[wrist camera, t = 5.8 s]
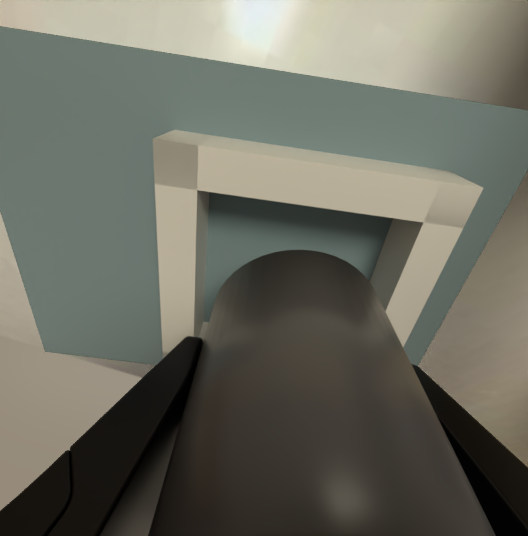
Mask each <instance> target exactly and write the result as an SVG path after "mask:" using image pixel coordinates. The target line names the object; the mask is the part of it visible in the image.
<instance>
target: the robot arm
mask: <svg viewBox="0 0 528 536" xmlns="http://www.w3.org/2000/svg"><path fill="white" fill-rule="evenodd" d="M202 345H203V339H202V338H201V337H194V336H187V337H185V338H184V339H183V340H182V341H181V342H180V343H179V344H178V345H177V346H176V347H174V348H173V349H172V350H171V351H170V352H169V353H168V354H167V355H166V356H165V357H164V358H163V359H162V360H161V361H160V362H159V363H158V364H157V365H156V366H155V367H154V368H153V369H151V370H150V371H149V372H148V373H147V374H146V375H145V376H144V377H143V378H142V379H141V380H140V381H139V382H138V383H137V384H136V385H135V386H134V387H133V388H132V389H131V390H130V391H129V392H128V393H126V394H125V395H124V396H123V397H122V398H121V399H120V400H119V401H118V402H117V403H116V404H115V405H114V406H113V407H112V408H111V409H110V410H109V411H108V412H106V414H104V415H103V416H102V417H101V418H100V419H99V420H98V421H97V422H96V423H95V424H94V425H93V426H92V427H91V428H90V429H89V430H88V431H87V432H86V433H85V434H83V436H81V437H80V438H79V439H78V440H77V441H76V442H75V443H74V444H73V445H72V446H71V447H70V451H69V450H67V451H65V453H64V454H62V455H61V456H60V457H59V458H58V459H57V460H56V461H55V462H54V463H53V464H52V465H51V466H50V467H49V468H48V469H47V470H46V471H45V472H43V473H42V474H41V475H40V476H39V477H38V478H37V479H36V480H35V481H34V482H33V483H31V484H30V485H29V486H28V487H27V488H26V489H25V490H24V491H23V492H22V493H20V494H19V495H18V496H17V497H16V498H15V499H14V500H12V501H11V502H10V503H9V504H8V505H7V506H5V507H4V508H3V509H2V510H1V511H0V536H148V534H149V531H150V527H151V524H152V520H153V517H154V513H155V510H156V506H157V503H158V499H159V496H160V492H161V489H162V485H163V482H164V478H165V475H166V471H167V468H168V464H169V461H170V457H171V453H172V450H173V446H174V443H175V439H176V436H177V432H178V429H179V425H180V422H181V418H182V415H183V411H184V408H185V404H186V401H187V397H188V394H189V390H190V387H191V383H192V380H193V376H194V373H195V369H196V366H197V362H198V359H199V355H200V352H201V348H202ZM411 365H412V367H413V369H414V371H415V373H416V375H417V377H418V379H419V381H420V383H421V385H422V387H423V389H424V391H425V393H426V395H427V397H428V399H429V401H430V403H431V405H432V407H433V409H434V411H435V413H436V415H437V417H438V419H439V421H440V424H441V426H442V428H443V430H444V432H445V434H446V436H447V438H448V440H449V442H450V444H451V446H452V448H453V450H454V452H455V454H456V456H457V458H458V460H459V462H460V464H461V466H462V468H463V470H464V472H465V474H466V476H467V478H468V480H469V482H470V484H471V486H472V488H473V491H474V493H475V495H476V497H477V499H478V501H479V503H480V505H481V507H482V509H483V511H484V513H485V515H486V517H487V519H488V521H489V523H490V525H491V527H492V529H493V531H494V533H495V535H496V536H528V467H527V466H525V465H524V464H523V463H522V462H521V461H520V460H519V459H518V458H517V457H516V456H515V455H514V454H512V453H511V452H510V451H509V450H508V449H507V448H506V447H505V446H504V445H503V444H502V443H501V442H499V441H498V440H497V439H496V438H495V437H494V436H493V435H492V434H491V433H490V432H489V431H487V430H486V429H485V428H484V427H483V426H482V425H481V424H480V423H479V422H478V421H477V420H476V419H474V418H473V417H472V416H471V415H470V414H469V413H468V412H467V411H466V410H465V409H464V408H463V407H461V406H460V405H459V404H458V403H457V402H456V401H455V400H454V399H453V398H452V397H451V396H449V395H448V394H447V393H446V392H445V391H444V390H443V389H442V388H441V387H440V386H439V385H438V384H436V383H435V382H434V381H433V380H432V379H431V378H430V377H429V376H428V375H427V374H426V373H425V372H423V371H422V370H421V369H420V368H419V367H418V366H416V365H414V364H411Z"/></svg>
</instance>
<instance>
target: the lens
mask: <svg viewBox="0 0 528 536" xmlns="http://www.w3.org/2000/svg"><path fill="white" fill-rule="evenodd" d="M148 536H496V535H495V533H494V531H493V529H492V527H491V525H490V523H489V521H488V519H487V517H486V515H485V513H484V511H483V509H482V507H481V505H480V503H479V501H478V499H477V497H476V495H475V493H474V491H473V488H472V486H471V484H470V482H469V480H468V478H467V476H466V474H465V472H464V470H463V468H462V466H461V464H460V462H459V460H458V458H457V456H456V454H455V452H454V450H453V448H452V446H451V444H450V442H449V440H448V438H447V436H446V434H445V432H444V430H443V428H442V426H441V424H440V421H439V419H438V417H437V415H436V413H435V411H434V409H433V407H432V405H431V403H430V401H429V399H428V397H427V395H426V393H425V391H424V389H423V387H422V385H421V383H420V381H419V379H418V377H417V375H416V373H415V371H414V369H413V367H412V365H411V363H410V361H409V359H408V356H407V354H406V352H405V350H404V348H403V346H402V344H401V342H400V340H399V338H398V336H397V334H396V332H395V330H394V328H393V326H392V324H391V322H390V320H389V318H388V316H387V314H386V312H385V310H384V308H383V306H382V304H381V302H380V300H379V298H378V296H377V294H376V291H375V290H374V288H373V286H372V285H371V283H370V281H369V280H368V279H367V278H366V277H365V276H364V274H363V273H361V272H360V271H359V270H358V269H357V268H356V267H354V266H353V265H351V264H350V263H348V262H346V261H344V260H342V259H340V258H338V257H336V256H333V255H330V254H327V253H323V252H318V251H313V250H285V251H279V252H274V253H270V254H267V255H263V256H261V257H259V258H256V259H254V260H252V261H250V262H248V263H246V264H245V265H243V266H242V267H240V268H239V269H238V270H236V271H235V272H234V273H233V274H232V275H231V276H230V277H229V278H228V279H227V280H226V281H225V283H224V284H223V286H222V287H221V288H220V290H219V292H218V294H217V296H216V299H215V303H214V306H213V309H212V313H211V316H210V320H209V323H208V327H207V330H206V334H205V337H204V341H203V345H202V348H201V352H200V355H199V359H198V362H197V366H196V369H195V373H194V376H193V380H192V383H191V387H190V390H189V394H188V397H187V401H186V404H185V408H184V411H183V415H182V418H181V422H180V425H179V429H178V432H177V436H176V439H175V443H174V446H173V450H172V453H171V457H170V461H169V464H168V468H167V471H166V475H165V478H164V482H163V485H162V489H161V492H160V496H159V499H158V503H157V506H156V510H155V513H154V517H153V520H152V524H151V527H150V531H149V534H148Z"/></svg>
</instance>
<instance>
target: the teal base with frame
mask: <svg viewBox="0 0 528 536" xmlns="http://www.w3.org/2000/svg"><path fill="white" fill-rule="evenodd" d="M527 170H528V110H523V109H517V108H510V107H504V106H498V105H491V104H485V103H479V102H473V101H466V100H460V99H454V98H448V97H441V96H435V95H429V94H422V93H416V92H410V91H404V90H397V89H391V88H385V87H378V86H372V85H366V84H360V83H353V82H347V81H341V80H334V79H328V78H322V77H316V76H309V75H303V74H297V73H290V72H284V71H278V70H272V69H265V68H259V67H253V66H246V65H240V64H234V63H228V62H221V61H215V60H209V59H203V58H196V57H190V56H184V55H177V54H171V53H165V52H159V51H152V50H146V49H140V48H133V47H127V46H121V45H115V44H108V43H102V42H96V41H89V40H83V39H77V38H71V37H64V36H58V35H52V34H45V33H39V32H33V31H27V30H20V29H14V28H8V27H2V26H0V212H1V215H2V218H3V221H4V224H5V227H6V231H7V234H8V237H9V240H10V243H11V246H12V249H13V252H14V256H15V259H16V262H17V265H18V268H19V271H20V274H21V278H22V281H23V284H24V287H25V290H26V293H27V296H28V300H29V303H30V306H31V309H32V312H33V315H34V318H35V322H36V325H37V328H38V331H39V334H40V337H41V340H42V344H43V347H44V350H45V352H53V353H61V354H69V355H77V356H86V357H94V358H102V359H111V360H119V361H127V362H135V363H144V364H152V365H157V364H158V363H159V362H160V361H161V360H162V359H163V358H164V357H165V356H166V355H167V354H168V353H169V352H170V351H171V350H172V349H173V348H174V347H176V346H177V345H178V344H179V343H180V342H181V341H182V340H183V339H184V338H185V337H187V336H194V337H201V338H202V339H203V341H204V337H205V334H206V330H207V327H208V323H209V320H210V316H211V313H212V309H213V306H214V303H215V299H216V296H217V294H218V292H219V290H220V288H221V287H222V286H223V284H224V283H225V281H226V280H227V279H228V278H229V277H230V276H231V275H232V274H233V273H234V272H235V271H236V270H238V269H239V268H240V267H242V266H243V265H245V264H246V263H248V262H250V261H252V260H254V259H256V258H259V257H261V256H263V255H267V254H270V253H274V252H279V251H285V250H313V251H318V252H323V253H327V254H330V255H333V256H336V257H338V258H340V259H342V260H344V261H346V262H348V263H350V264H351V265H353V266H354V267H356V268H357V269H358V270H359V271H360V272H361V273H363V274H364V276H365V277H366V278H367V279H368V280H369V281H370V283H371V285H372V286H373V288H374V290H375V291H376V294H377V296H378V298H379V300H380V302H381V304H382V306H383V308H384V310H385V312H386V314H387V316H388V318H389V320H390V322H391V324H392V326H393V328H394V330H395V332H396V334H397V336H398V338H399V340H400V342H401V344H402V346H403V348H404V350H405V352H406V354H407V356H408V359H409V361H410V363H411V364H414V365H416V366H418V365H419V363H420V361H421V359H422V357H423V356H424V354H425V352H426V350H427V349H428V347H429V345H430V343H431V341H432V340H433V338H434V336H435V334H436V333H437V331H438V329H439V327H440V325H441V324H442V322H443V320H444V318H445V317H446V315H447V313H448V311H449V309H450V308H451V306H452V304H453V302H454V300H455V299H456V297H457V295H458V293H459V292H460V290H461V288H462V286H463V284H464V283H465V281H466V279H467V277H468V276H469V274H470V272H471V270H472V268H473V267H474V265H475V263H476V261H477V259H478V258H479V256H480V254H481V252H482V251H483V249H484V247H485V245H486V243H487V242H488V240H489V238H490V236H491V235H492V233H493V231H494V229H495V227H496V226H497V224H498V222H499V220H500V219H501V217H502V215H503V213H504V211H505V210H506V208H507V206H508V204H509V202H510V201H511V199H512V197H513V195H514V194H515V192H516V190H517V188H518V186H519V185H520V183H521V181H522V179H523V178H524V176H525V174H526V172H527Z"/></svg>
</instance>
